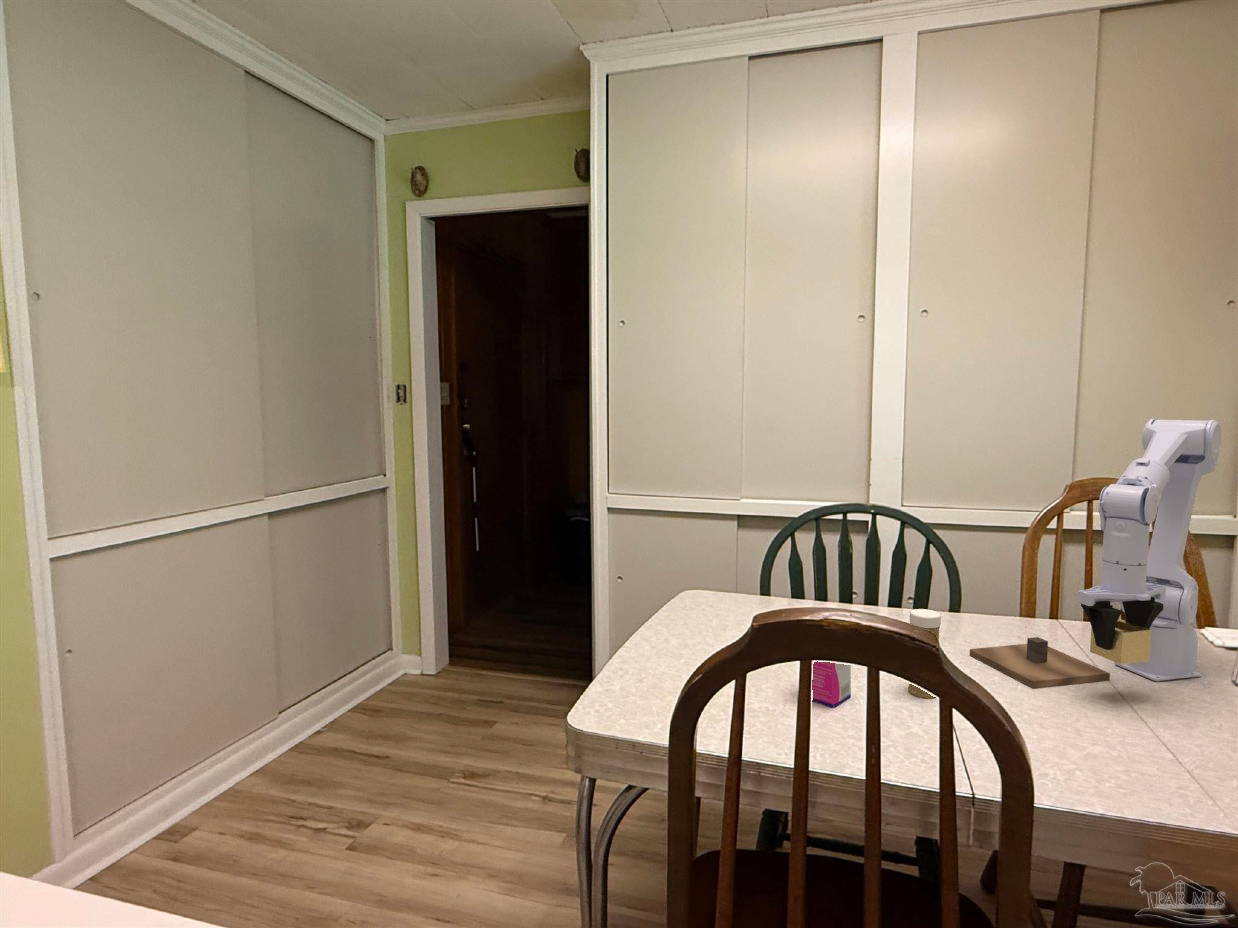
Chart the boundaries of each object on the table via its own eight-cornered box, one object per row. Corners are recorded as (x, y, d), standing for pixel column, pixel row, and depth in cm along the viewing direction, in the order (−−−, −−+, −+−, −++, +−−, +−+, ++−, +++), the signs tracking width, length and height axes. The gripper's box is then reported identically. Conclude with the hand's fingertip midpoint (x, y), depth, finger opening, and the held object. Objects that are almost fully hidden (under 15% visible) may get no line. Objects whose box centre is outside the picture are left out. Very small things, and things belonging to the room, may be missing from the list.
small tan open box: (1117, 648, 114) (1119, 618, 113) (1149, 660, 108) (1151, 629, 108) (1089, 651, 112) (1091, 621, 112) (1120, 664, 107) (1122, 632, 107)
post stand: (1039, 648, 132) (1040, 622, 132) (1109, 680, 118) (1111, 651, 117) (969, 655, 129) (970, 629, 129) (1032, 688, 115) (1034, 658, 114)
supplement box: (818, 686, 116) (819, 619, 115) (851, 697, 112) (853, 627, 111) (799, 697, 112) (800, 627, 111) (833, 708, 108) (835, 637, 107)
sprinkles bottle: (943, 694, 113) (946, 613, 111) (927, 701, 110) (930, 618, 109) (918, 684, 116) (920, 606, 115) (901, 691, 114) (903, 611, 113)
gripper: (1108, 570, 103) (1103, 659, 105) (1187, 564, 107) (1181, 650, 108) (1068, 559, 110) (1064, 643, 112) (1144, 554, 113) (1138, 635, 115)
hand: (1119, 645), depth 110 cm, fingers closed on small tan open box, 5 cm apart
